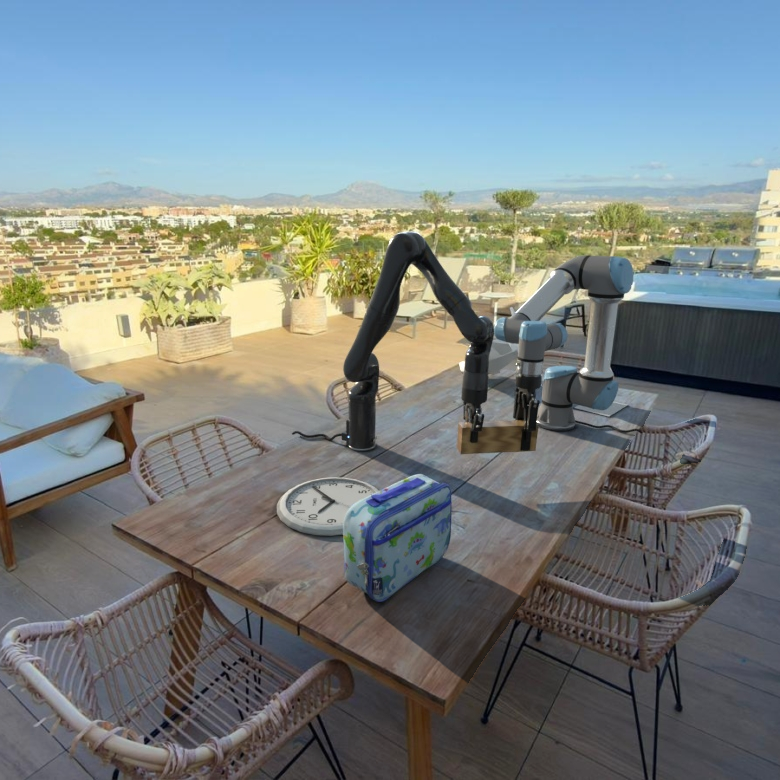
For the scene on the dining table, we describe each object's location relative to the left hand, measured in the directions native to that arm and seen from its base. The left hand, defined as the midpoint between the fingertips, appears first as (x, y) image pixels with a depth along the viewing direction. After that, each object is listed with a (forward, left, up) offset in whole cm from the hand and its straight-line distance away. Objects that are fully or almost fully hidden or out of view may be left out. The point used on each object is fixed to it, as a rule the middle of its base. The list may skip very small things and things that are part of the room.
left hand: (471, 438), depth 158 cm
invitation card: (+23, +92, -12) cm, 96 cm away
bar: (+6, +5, -4) cm, 9 cm away
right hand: (+13, +10, -3) cm, 17 cm away
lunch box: (+6, -54, -12) cm, 55 cm away
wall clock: (-24, -38, -12) cm, 46 cm away
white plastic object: (-27, +100, -12) cm, 104 cm away
